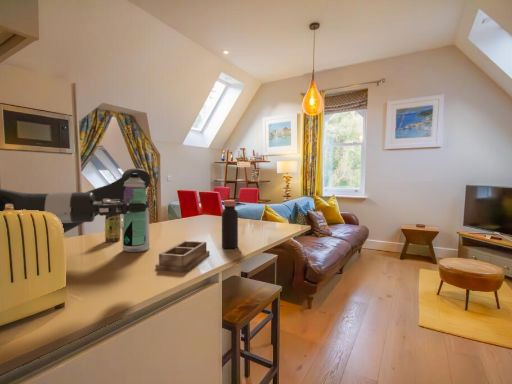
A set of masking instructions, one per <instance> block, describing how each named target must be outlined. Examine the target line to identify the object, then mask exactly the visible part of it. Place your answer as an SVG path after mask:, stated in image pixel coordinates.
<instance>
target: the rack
mask: <svg viewBox="0 0 512 384" xmlns="http://www.w3.org/2000/svg"><path fill="white" fill-rule="evenodd" d="M208 256H210V250H207V241H194V240H184V241H182V242H180V243H178V244H176V245H174V246H171V247H170V248H168V249H166V250H164V251H162V252H160V253H158V263H157V264H155V270H157V271H166V272H167V271H168V272H180V273H188V272H189V271H190V270H192V269H193V268H194V267H195V266H197V265H198V264H199V263H200V262H202V261H203V260H205V259H206V258H207V257H208Z"/></svg>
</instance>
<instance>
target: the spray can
mask: <svg viewBox="0 0 512 384" xmlns="http://www.w3.org/2000/svg"><path fill="white" fill-rule="evenodd" d="M124 183H125V184H124V203H145V204H146V198H147V188H146V185H145V183H146V182H144V181H143V180H141V178H139V176H138V173H131V176H130V178H129V179H128V180H127V181H125V182H124ZM123 227H124V248H126V249H138V248H143V247H145V246H146V211H145V212H130V213H127V214H125V215H123Z"/></svg>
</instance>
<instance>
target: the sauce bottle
mask: <svg viewBox="0 0 512 384" xmlns="http://www.w3.org/2000/svg"><path fill="white" fill-rule="evenodd" d="M104 216H105V218H104V220H105V221H104V225H105V226H104V238H105V240H104V241H105V242H107V243H115V242H119V241H120V239H121V214H118V215H104Z"/></svg>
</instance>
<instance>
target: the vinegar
mask: <svg viewBox="0 0 512 384" xmlns="http://www.w3.org/2000/svg"><path fill="white" fill-rule="evenodd" d="M223 207H224V209H223V210H222V211H221V247H222V248H223V249H225V250H232V249H233V250H234V249H236V248H238V246H239V244H238V243H239V238H238V237H239V235H238V234H239V233H238V232H239V229H238V228H239V226H238V225H239V212H238V211H237V209H236V200H235V199H234V200H233V199H226V200H223Z"/></svg>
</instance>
